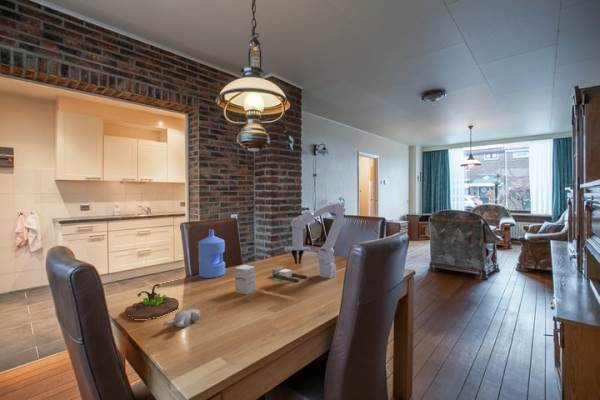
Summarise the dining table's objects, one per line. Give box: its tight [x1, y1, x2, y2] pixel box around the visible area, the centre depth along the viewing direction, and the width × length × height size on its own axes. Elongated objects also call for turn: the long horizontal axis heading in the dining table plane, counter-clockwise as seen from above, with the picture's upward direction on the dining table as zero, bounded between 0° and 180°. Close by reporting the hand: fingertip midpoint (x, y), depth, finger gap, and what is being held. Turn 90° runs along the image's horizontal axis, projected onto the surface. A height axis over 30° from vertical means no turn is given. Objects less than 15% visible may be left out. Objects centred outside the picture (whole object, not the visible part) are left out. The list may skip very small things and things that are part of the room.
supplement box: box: [234, 264, 256, 295], centre depth 144 cm, size 7×7×13 cm
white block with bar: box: [274, 268, 293, 277], centre depth 162 cm, size 5×10×4 cm, turn 144°
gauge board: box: [266, 266, 311, 286], centre depth 161 cm, size 22×13×5 cm, turn 54°
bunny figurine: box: [163, 308, 201, 328], centre depth 109 cm, size 10×5×15 cm
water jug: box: [197, 228, 227, 279], centre depth 175 cm, size 16×16×28 cm
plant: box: [124, 283, 180, 320], centre depth 123 cm, size 20×20×11 cm
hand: (297, 263), depth 159 cm, fingers closed
